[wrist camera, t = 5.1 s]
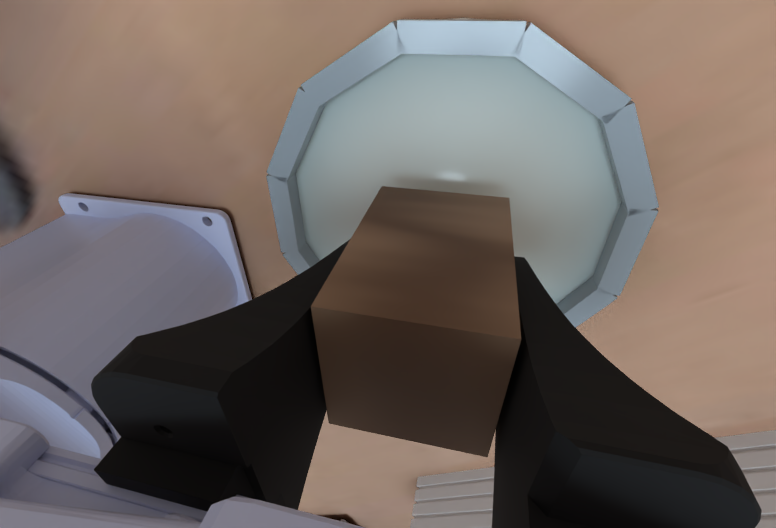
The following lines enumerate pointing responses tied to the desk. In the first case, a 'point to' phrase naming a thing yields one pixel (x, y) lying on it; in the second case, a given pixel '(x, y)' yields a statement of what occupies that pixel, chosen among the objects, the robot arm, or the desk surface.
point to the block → (422, 319)
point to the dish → (472, 149)
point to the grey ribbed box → (475, 487)
